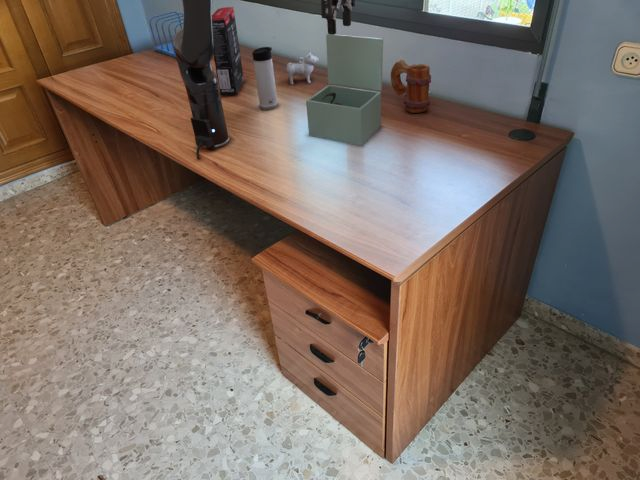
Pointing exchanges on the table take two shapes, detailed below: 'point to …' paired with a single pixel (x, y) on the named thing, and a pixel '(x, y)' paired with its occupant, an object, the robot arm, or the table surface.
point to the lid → (355, 61)
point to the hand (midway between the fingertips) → (339, 29)
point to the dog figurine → (302, 67)
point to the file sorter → (167, 47)
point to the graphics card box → (227, 51)
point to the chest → (344, 114)
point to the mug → (412, 85)
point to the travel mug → (265, 78)
